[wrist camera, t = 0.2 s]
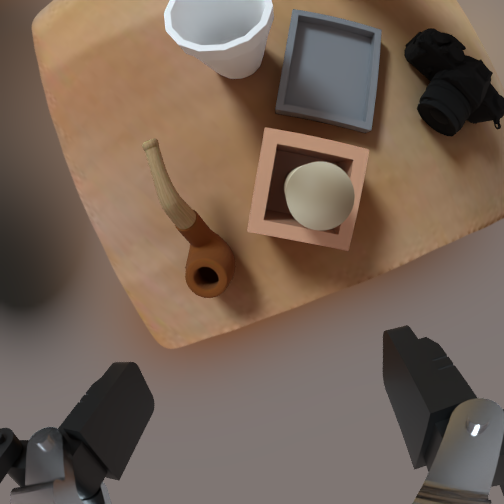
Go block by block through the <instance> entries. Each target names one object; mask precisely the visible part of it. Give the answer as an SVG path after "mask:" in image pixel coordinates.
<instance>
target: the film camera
mask: <svg viewBox="0 0 504 504" xmlns="http://www.w3.org/2000/svg"><path fill="white" fill-rule="evenodd" d="M465 49H466V48H465V46H464V45H463V44H462V43H460V42H459V41H458V40H457V39H456V38H455V37H453V36H452V35H450V34H447V33H441V32H439V31H437V30H435V29H427V30H424V31H423V32H419V33H418V34H417V35H416V36H415V37H414V38H413V39H412V40H411V41H410V42H409V43H407V44H406V49H405V58H406V60H407V61H408V62H410V63H411V64H412V65H413V66H414V67H415V68H416V69H418V70H419V71H420V72H421V73H422V74H423V75H424V76H425V77H427V78H428V79H429V81H431V82H430V84H429V85H428V86H427V88H426V91H425V92H424V94H423V95H422V96H421V98H420V104H419V105H418V107H417V110H418V112H419V114H420V116H421V117H422V119H423V120H424V121H425V122H426V123H427V124H428V125H429V126H430V127H432V128H433V129H434V130H436V131H437V132H439V133H441V134H443V135H446V136H453V135H455V134H456V132H458V131H460V130H461V128H462V127H463V125H464V123H465V121H466V120H468V121H469V122H470V123H479V122H485V121H490V120H493V121H494V125H495V124H498V128H497V127H496V125H495V127H496V129H500V128H501V125H500V121H499V120H500V118H502V117H503V115H504V98H503V97H502V96H501V95H499V94H498V92H497V91H496V90H495V88H494V87H493V86H492V84H491V83H490V82H491V76H492V72H491V71H490V70H489V69H488V68H487V67H486V66H485V65H484V64H483V62H482V60H477V59H474V58H472V57H470V56H466V55H464V52H463V50H465Z"/></svg>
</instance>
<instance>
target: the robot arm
mask: <svg viewBox="0 0 504 504" xmlns="http://www.w3.org/2000/svg"><path fill="white" fill-rule="evenodd" d="M383 380H384V385H385V389H386V392H387V394H388V397H389V399H390V402H391V405H392V407H393V410H394V412H395V415H396V418H397V421H398V423H399V426H400V429H401V431H402V434H403V437H404V440H405V443H406V446H407V448H408V452H409V455H410V458H411V461H412V464H413V467H414V469H417V468H420V467H423V466H427V468H428V471H429V473H428V475H427V477H426V479H425V481H424V484H423V486H422V488H421V489H420V491H419V493H418V494H417V496H416V499H415V500H414V502H413V504H491V500H488V495H489V491H490V488H491V486H497V485H500V487H501V490H502V492H503V495H504V409H502V408H501V407H500V406H499V405H498V404H497V403H495V402H494V401H492V400H488V399H483V398H477V397H476V395H475V394H474V392H473V391H472V389H471V388H470V386H469V385H468V383H467V382H466V381H465V379H464V378H463V376H462V375H461V374H460V372H459V371H458V369H457V368H456V367H455V366H453V363H452V361H451V360H450V358H449V357H447V355H446V353H445V352H444V350H443V349H442V348H441V346H440V345H439V344H438V343H436V342H434V341H432V340H431V339H429V338H427V337H425V338H421V339H418V338H417V337H416V335H415V334H414V333H413V331H412V330H411V328H410V327H409V326H403V327H399V328H395V329H390V330H386V331H384V334H383ZM153 411H154V399H153V396H152V394H151V392H150V390H149V388H148V386H147V384H146V381H145V379H144V377H143V375H142V373H141V371H140V369H139V367H138V365H137V364H136V363H134V362H116V363H113V364H112V365H111V366H110V367H109V369H108V370H107V371H106V372H105V374H104V375H103V376H102V377H101V378H100V379H99V380H98V381H96V382H95V383H94V384H93V385H92V386H91V387H90V388H89V390H88V391H87V392H86V395H84V396H83V397H82V398H81V400H80V403H78V404H77V405H76V406H75V407H74V409H73V410H72V411H71V413H70V414H69V415H68V416H67V418H66V419H65V421H64V422H63V423H62V424H61V426H60V427H59V428H58V429H57V428H55V427H47V428H43V429H41V430H39V431H37V432H36V433H34V434H33V435H32V437H31V438H30V439H29V440H19V439H18V438H17V437H16V435H15V434H14V433H13V432H12V430H11V429H9V428H2V429H0V483H1V481H2V480H3V478H4V477H5V475H6V474H7V473H8V474H9V476H10V477H11V478H12V479H13V480H14V481H15V482H16V483H17V484H18V485H19V486H20V487H18V488H14V489H12V491H11V494H10V504H111V500H110V497H109V493H108V490H107V487H106V485H105V484H104V483H103V480H104V478H105V477H107V478H111V479H115V480H120V478H121V475H122V474H123V471H124V470H125V467H126V465H127V463H128V461H129V459H130V457H131V455H132V453H133V451H134V449H135V447H136V445H137V443H138V441H139V439H140V437H141V435H142V433H143V431H144V429H145V427H146V425H147V423H148V421H149V419H150V417H151V415H152V413H153Z"/></svg>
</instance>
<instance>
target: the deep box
mask: <svg viewBox="0 0 504 504" xmlns="http://www.w3.org/2000/svg"><path fill="white" fill-rule="evenodd" d="M368 155H369V149H365V148H361V147H357V146H353V145H349V144H345V143H341V142H337V141H333V140H328V139H324V138H319V137H314V136H310V135H305V134H300V133H294V132H289V131H284V130H278V129H272V128H266V127H265V129H264V135H263V141H262V147H261V152H260V158H259V164H258V170H257V175H256V181H255V187H254V193H253V199H252V205H251V211H250V217H249V222H248V228H247V232H252V233H258V234H263V235H268V236H274V237H279V238H284V239H290V240H295V241H300V242H305V243H311V244H316V245H321V246H326V247H331V248H336V249H341V250H346V251H349V247H350V243H351V239H352V234H353V230H354V226H355V221H356V217H357V212H358V207H359V203H360V198H361V193H362V188H363V183H364V177H365V172H366V166H367V161H368ZM318 161H319V162H328V163H332V164H334V165H336V166H338V167H339V168H341V169H342V170H343V171H344V172H345V173H346V174H347V175H348V177H349V178H350V180H351V182H352V184H353V188H354V194H355V199H354V205H353V208H352V211H351V213H350V214H349V216H348V217H347V219H346V220H345V221H344V222H343V223H341V224H340V225H339V226H337V227H335V228H332V229H329V230H313V229H309V228H307V227H305V226H303V225H301V224H300V223H299V222H298V221H297V220H296V219H295V218H294V217H293V216H292V214H291V212H290V210H289V208H288V205H287V201H286V197H285V192H284V187H283V184H284V179H285V177H286V175H287V174H288V173H289V172H290V171H291V170H292V169H294V168H297V167H300V166H303V165H305V164H308V163H312V162H318Z"/></svg>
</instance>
